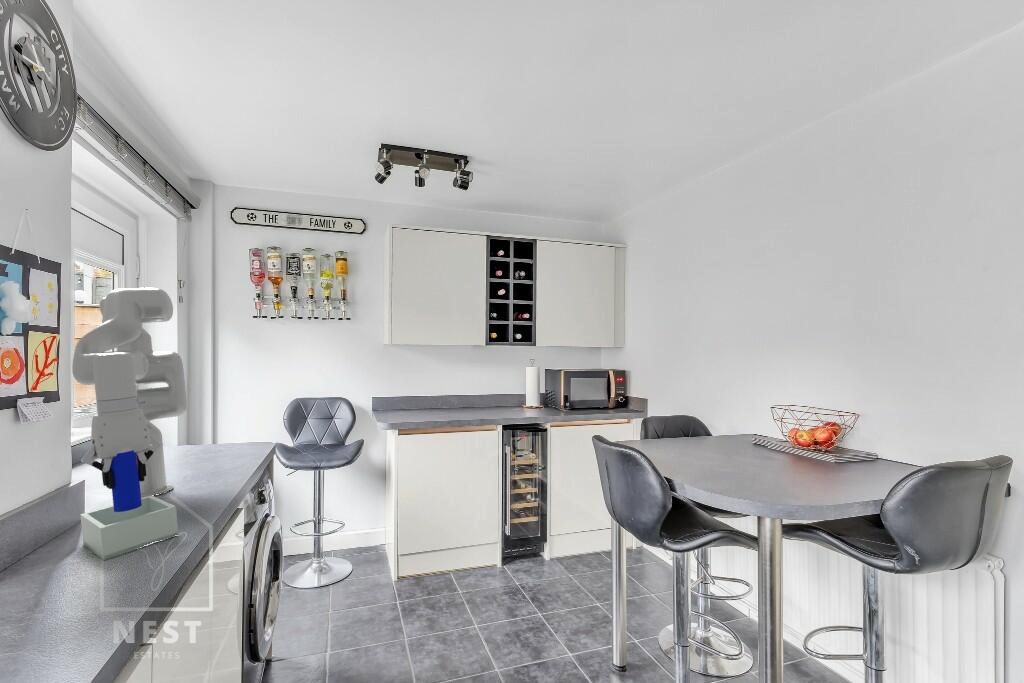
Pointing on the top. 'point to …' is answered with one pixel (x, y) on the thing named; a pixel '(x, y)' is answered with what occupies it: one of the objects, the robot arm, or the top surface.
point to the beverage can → (126, 482)
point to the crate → (128, 527)
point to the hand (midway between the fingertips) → (125, 483)
